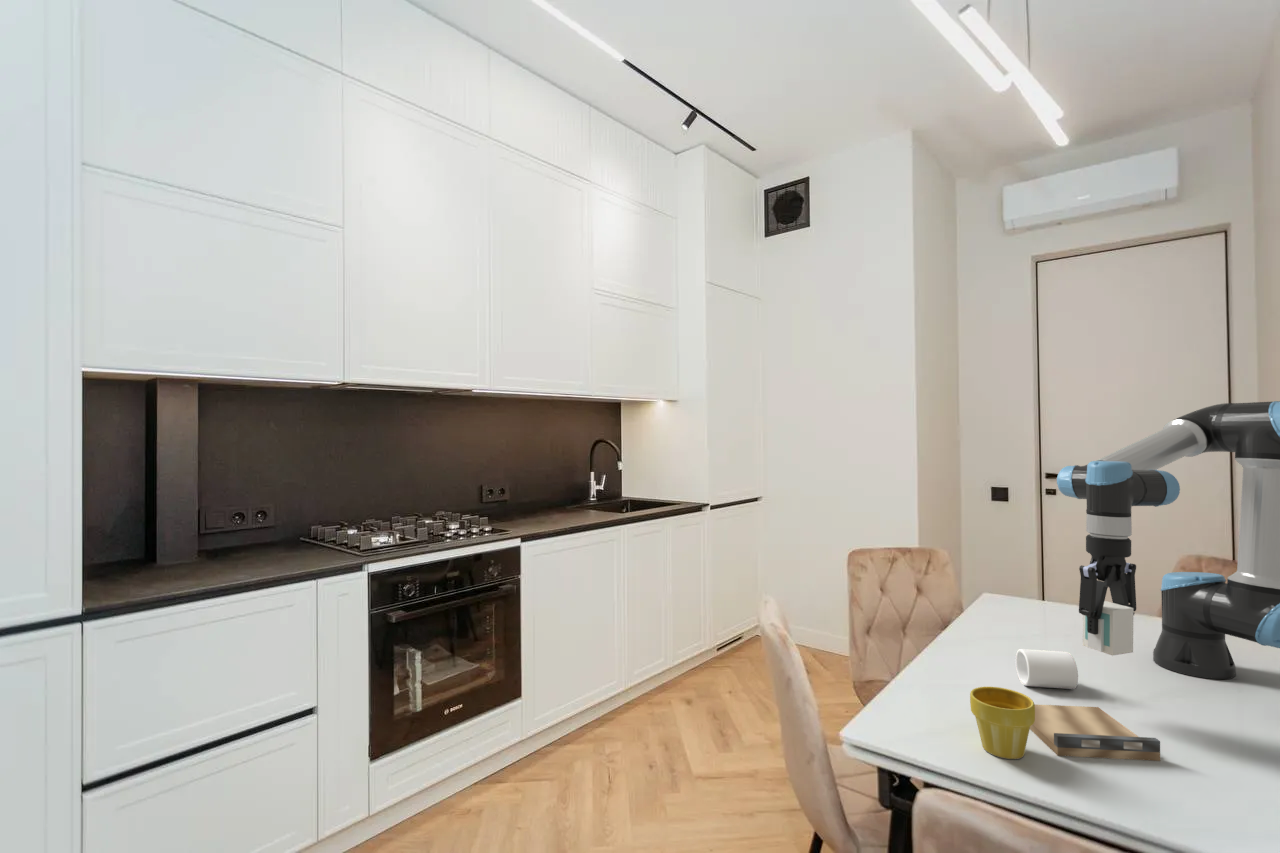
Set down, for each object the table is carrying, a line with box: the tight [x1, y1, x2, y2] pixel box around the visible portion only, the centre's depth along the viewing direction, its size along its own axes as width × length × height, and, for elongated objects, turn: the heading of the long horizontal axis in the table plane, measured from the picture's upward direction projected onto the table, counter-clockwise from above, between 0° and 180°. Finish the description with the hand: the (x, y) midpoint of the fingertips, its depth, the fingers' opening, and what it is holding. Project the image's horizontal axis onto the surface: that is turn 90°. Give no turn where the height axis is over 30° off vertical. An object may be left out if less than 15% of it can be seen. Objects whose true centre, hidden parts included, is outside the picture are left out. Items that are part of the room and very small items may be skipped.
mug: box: [1014, 648, 1079, 690], centre depth 145 cm, size 12×10×8 cm
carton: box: [1082, 600, 1135, 657], centre depth 129 cm, size 6×6×9 cm
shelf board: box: [1029, 703, 1161, 762], centre depth 120 cm, size 17×18×4 cm
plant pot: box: [969, 686, 1035, 760], centre depth 115 cm, size 10×10×10 cm
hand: (1107, 647), depth 129 cm, fingers closed on carton, 6 cm apart
